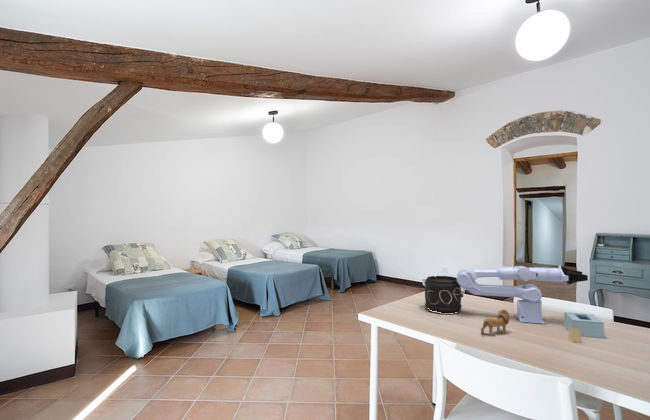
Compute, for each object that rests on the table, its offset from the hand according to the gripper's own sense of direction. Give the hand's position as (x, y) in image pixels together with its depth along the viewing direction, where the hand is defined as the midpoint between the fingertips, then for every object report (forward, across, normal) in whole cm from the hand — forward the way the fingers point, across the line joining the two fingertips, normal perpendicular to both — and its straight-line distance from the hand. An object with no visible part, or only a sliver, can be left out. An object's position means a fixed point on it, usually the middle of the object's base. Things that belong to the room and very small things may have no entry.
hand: (584, 276), depth 145 cm
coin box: (-3, -10, +21) cm, 23 cm away
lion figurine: (-36, -23, +21) cm, 47 cm away
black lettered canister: (-57, +4, +21) cm, 61 cm away
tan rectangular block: (-9, -21, +21) cm, 31 cm away
